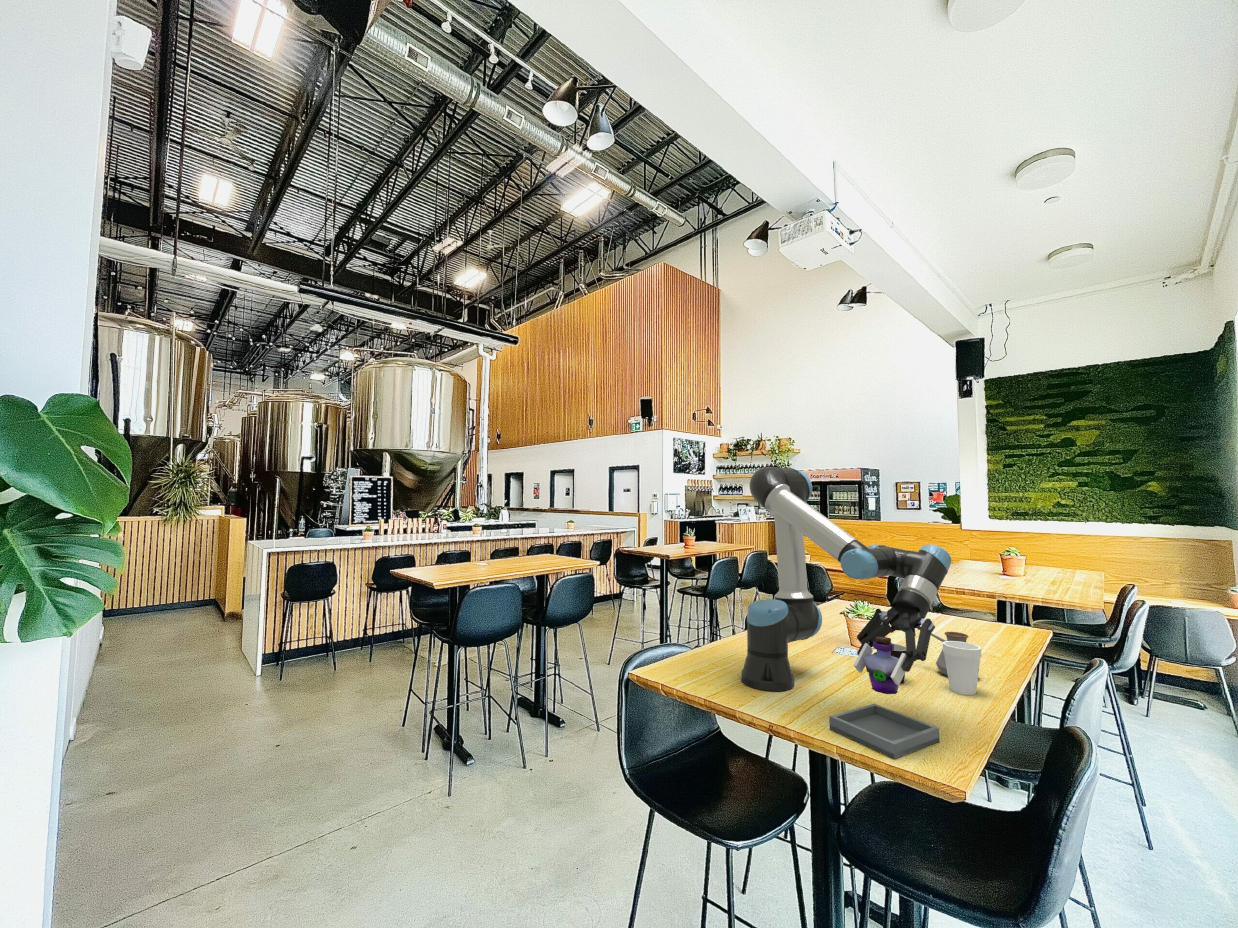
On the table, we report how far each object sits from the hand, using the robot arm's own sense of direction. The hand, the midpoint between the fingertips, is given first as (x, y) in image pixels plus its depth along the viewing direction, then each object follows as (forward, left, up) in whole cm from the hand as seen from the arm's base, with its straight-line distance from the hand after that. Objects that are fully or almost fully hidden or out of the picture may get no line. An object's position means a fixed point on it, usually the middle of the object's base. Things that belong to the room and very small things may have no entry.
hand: (875, 674), depth 119 cm
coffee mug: (-23, +40, -15) cm, 49 cm away
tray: (0, +3, -14) cm, 15 cm away
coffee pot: (-20, +63, -15) cm, 68 cm away
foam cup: (-7, +51, -15) cm, 54 cm away
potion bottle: (0, +3, -4) cm, 5 cm away
